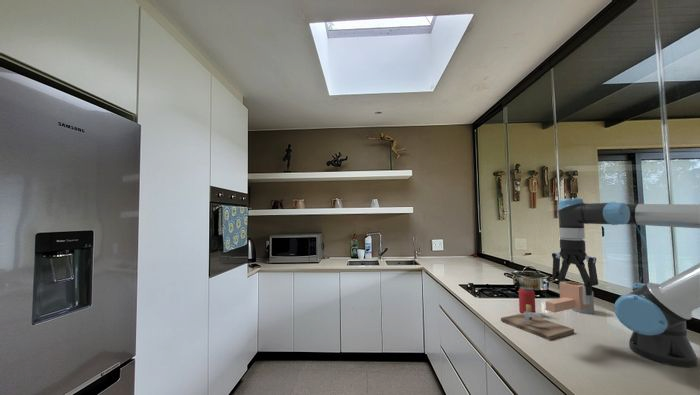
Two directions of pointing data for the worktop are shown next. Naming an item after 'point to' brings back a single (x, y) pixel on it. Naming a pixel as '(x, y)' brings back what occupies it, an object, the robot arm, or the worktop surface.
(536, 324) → the board
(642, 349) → the robot arm
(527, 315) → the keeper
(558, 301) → the link
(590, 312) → the cup
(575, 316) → the worktop surface
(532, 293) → the beer can
